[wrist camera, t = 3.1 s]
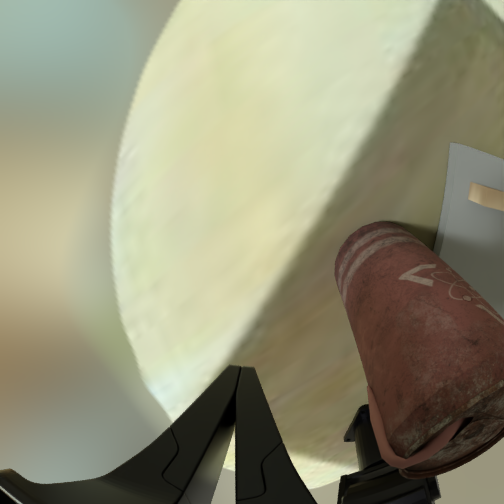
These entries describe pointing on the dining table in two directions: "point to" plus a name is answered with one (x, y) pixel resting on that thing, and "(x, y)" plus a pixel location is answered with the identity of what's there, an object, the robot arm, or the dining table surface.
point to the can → (422, 351)
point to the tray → (474, 222)
